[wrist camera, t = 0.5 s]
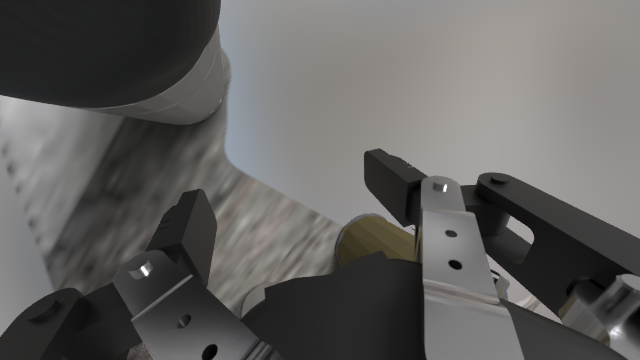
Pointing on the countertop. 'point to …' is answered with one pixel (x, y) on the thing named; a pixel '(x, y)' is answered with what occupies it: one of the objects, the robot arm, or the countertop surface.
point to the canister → (385, 244)
